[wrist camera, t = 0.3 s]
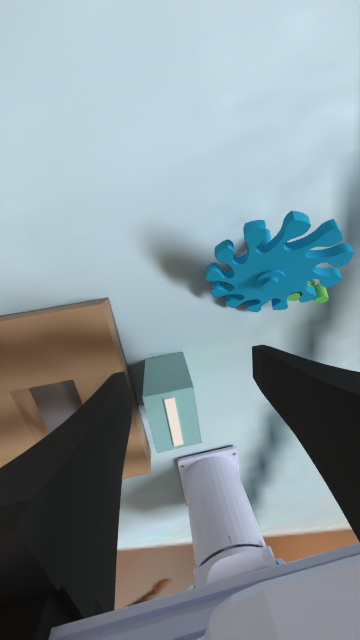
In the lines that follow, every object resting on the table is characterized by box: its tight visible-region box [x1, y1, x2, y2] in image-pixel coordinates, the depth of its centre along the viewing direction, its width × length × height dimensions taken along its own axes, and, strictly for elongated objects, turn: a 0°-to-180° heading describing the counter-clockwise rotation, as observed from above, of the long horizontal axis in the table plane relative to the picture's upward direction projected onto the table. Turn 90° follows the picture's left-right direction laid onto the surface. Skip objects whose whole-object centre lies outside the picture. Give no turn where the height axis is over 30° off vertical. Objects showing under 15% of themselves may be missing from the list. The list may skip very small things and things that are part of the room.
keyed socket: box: [0, 298, 151, 479], centre depth 20 cm, size 20×14×2 cm
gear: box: [206, 211, 353, 312], centre depth 17 cm, size 11×6×10 cm
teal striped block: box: [142, 352, 202, 453], centre depth 19 cm, size 6×4×6 cm, turn 8°
